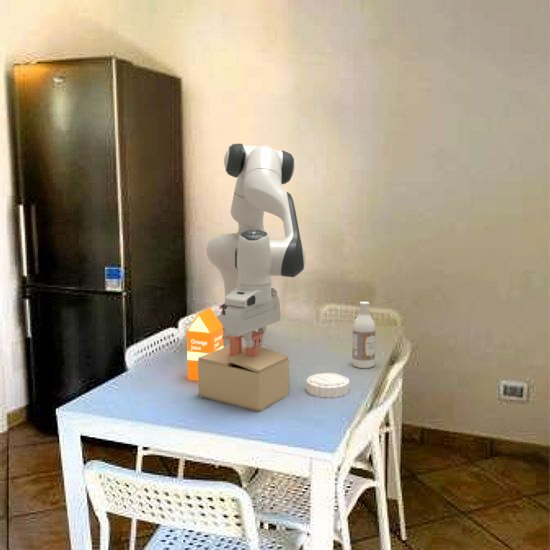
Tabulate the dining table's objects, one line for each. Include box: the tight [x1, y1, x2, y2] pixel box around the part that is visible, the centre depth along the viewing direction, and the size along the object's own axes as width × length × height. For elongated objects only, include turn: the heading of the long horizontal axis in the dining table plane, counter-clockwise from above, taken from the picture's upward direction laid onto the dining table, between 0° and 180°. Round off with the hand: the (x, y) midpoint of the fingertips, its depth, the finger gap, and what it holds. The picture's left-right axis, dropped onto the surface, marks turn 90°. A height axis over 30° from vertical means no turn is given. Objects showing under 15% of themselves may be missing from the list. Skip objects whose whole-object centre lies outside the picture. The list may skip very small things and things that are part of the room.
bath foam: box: [351, 301, 376, 369], centre depth 189 cm, size 7×7×20 cm
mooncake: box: [305, 372, 351, 399], centre depth 169 cm, size 12×12×4 cm
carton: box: [197, 358, 290, 413], centre depth 165 cm, size 20×14×10 cm
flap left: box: [198, 335, 246, 367], centre depth 166 cm, size 10×14×7 cm
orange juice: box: [186, 307, 223, 382], centre depth 180 cm, size 8×9×20 cm
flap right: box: [228, 331, 289, 373], centre depth 160 cm, size 10×14×7 cm
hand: (254, 344), depth 161 cm, fingers open, 3 cm apart
